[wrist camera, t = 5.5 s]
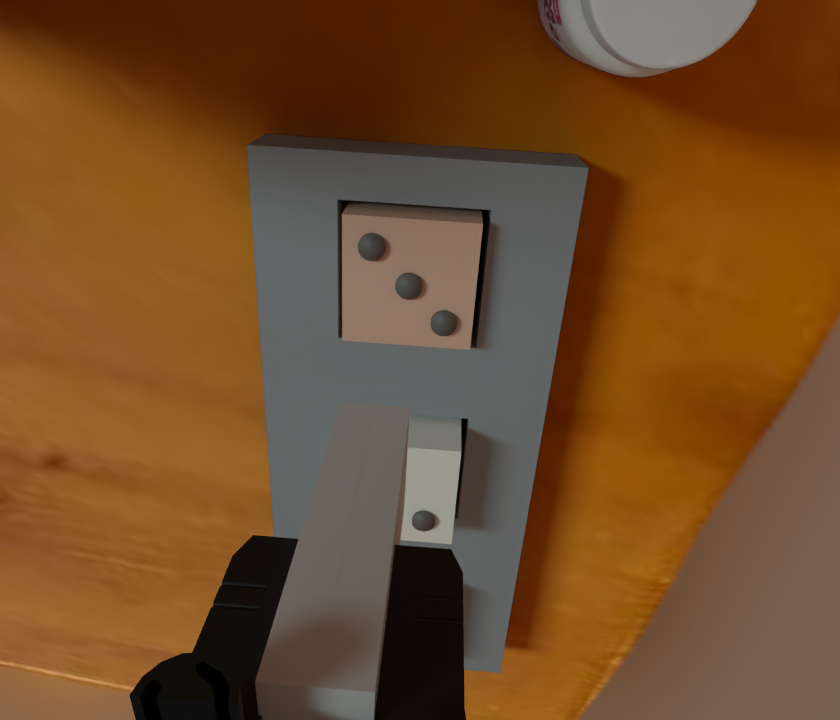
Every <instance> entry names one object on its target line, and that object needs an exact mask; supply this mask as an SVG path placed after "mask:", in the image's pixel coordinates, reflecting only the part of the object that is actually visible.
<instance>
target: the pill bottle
mask: <svg viewBox="0 0 840 720" xmlns="http://www.w3.org/2000/svg"><path fill="white" fill-rule="evenodd" d="M756 2H757V0H537V8H538V13H539V17H540V21H541V23H542V26H543V28H544V30H545V32H546V34H547V36H548V37H549V39H550V40H551V41H552V42H553V44H554V45H555V46H556V47H557V48H558V49H559V50H561V51H562V52H563V53H564V54H566V55H567V56H569V57H571V58H573V59H575V60H577V61H580V62H582V63H585V64H588V65H590V66H592V67H595V68H597V69H599V70H602V71H605V72H608V73H611V74H614V75H619V76H625V77H647V76H653V75H657V74H661V73H665V72H668V71H670V70H673V69H676V68H681V67H685V66H688V65H691V64H693V63H696V62H698V61H700V60H702V59H704V58H706V57H708V56H710V55H711V54H713V53H714V52H716V51H717V50H718V49H720V48H721V47H722V46H723V45H724V44H726V43H727V42H728V41H729V40H730V39H731V38H732V37H733V36H734V35H735V34H736V33H737V32H738V30H739V29H740V28H741V27H742V25H743V24H744V23H745V21H746V20H747V18H748V17H749V15H750V13H751V12H752V10H753V9H754V7H755V5H756Z"/></svg>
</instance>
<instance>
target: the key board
mask: <svg viewBox="0 0 840 720" xmlns="http://www.w3.org/2000/svg"><path fill="white" fill-rule="evenodd" d="M247 159H248V173H249V187H250V201H251V216H252V230H253V244H254V258H255V273H256V287H257V301H258V316H259V330H260V344H261V358H262V373H263V387H264V401H265V415H266V430H267V444H268V458H269V472H270V487H271V501H272V515H273V529H274V537H282V538H294V539H299V536H300V533H301V530H302V526H303V523H304V520H305V516H306V513H307V510H308V507H309V503H310V500H311V497H312V493H313V490H314V487H315V484H316V480H317V477H318V474H319V470H320V467H321V464H322V461H323V457H324V454H325V451H326V448H327V444H328V441H329V438H330V434H331V431H332V428H333V425H334V421H335V418H336V415H337V411H338V408H339V405H340V402H349V403H362V404H375V405H389V406H402V407H410V414H413V415H426V416H439V417H453V418H465V423H464V432H463V441H462V451H461V460H460V470H459V479H458V488H457V497H456V507H455V516H454V526H453V535H452V544H442V543H429V542H417V541H405V540H401V541H400V545H405V546H418V547H431V548H443V549H451V550H452V552H453V554H454V556H455V558H456V560H457V562H458V564H459V566H460V568H461V570H462V571H463V619H464V621H463V626H464V670H474V671H485V672H497V673H500V670H501V664H502V659H503V653H504V647H505V642H506V636H507V630H508V625H509V619H510V613H511V608H512V602H513V596H514V590H515V585H516V579H517V573H518V568H519V562H520V556H521V551H522V545H523V539H524V534H525V528H526V522H527V517H528V511H529V505H530V500H531V494H532V488H533V482H534V477H535V471H536V465H537V460H538V454H539V448H540V443H541V437H542V431H543V426H544V420H545V414H546V409H547V403H548V397H549V391H550V386H551V380H552V374H553V369H554V363H555V357H556V352H557V346H558V340H559V335H560V329H561V323H562V318H563V312H564V306H565V300H566V295H567V289H568V283H569V278H570V272H571V266H572V261H573V255H574V249H575V244H576V238H577V232H578V227H579V221H580V215H581V209H582V204H583V198H584V192H585V187H586V181H587V175H588V170H589V168H588V167H587V165H586V164H585V163H584V162H583V161H582V160H581V159H580V157H579V156H578V155H574V154H559V153H544V152H529V151H514V150H499V149H484V148H469V147H454V146H439V145H424V144H410V143H395V142H380V141H365V140H350V139H335V138H320V137H305V136H290V135H275V134H264V135H263V136H261V137H259V138H258V139H256V140H254V141H252V142H251V143H249V144H247ZM348 200H352V201H367V202H381V203H396V204H410V205H425V206H439V207H454V208H468V209H483V210H487V214H486V223H485V233H484V242H483V252H482V261H481V271H480V280H479V290H478V299H477V309H476V318H475V322H473V326H472V336H471V345H470V350H464V349H450V348H437V347H423V346H409V345H396V344H382V343H369V342H355V341H342V213H343V212H344V210H345V208H346V207H347V205H348Z"/></svg>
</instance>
